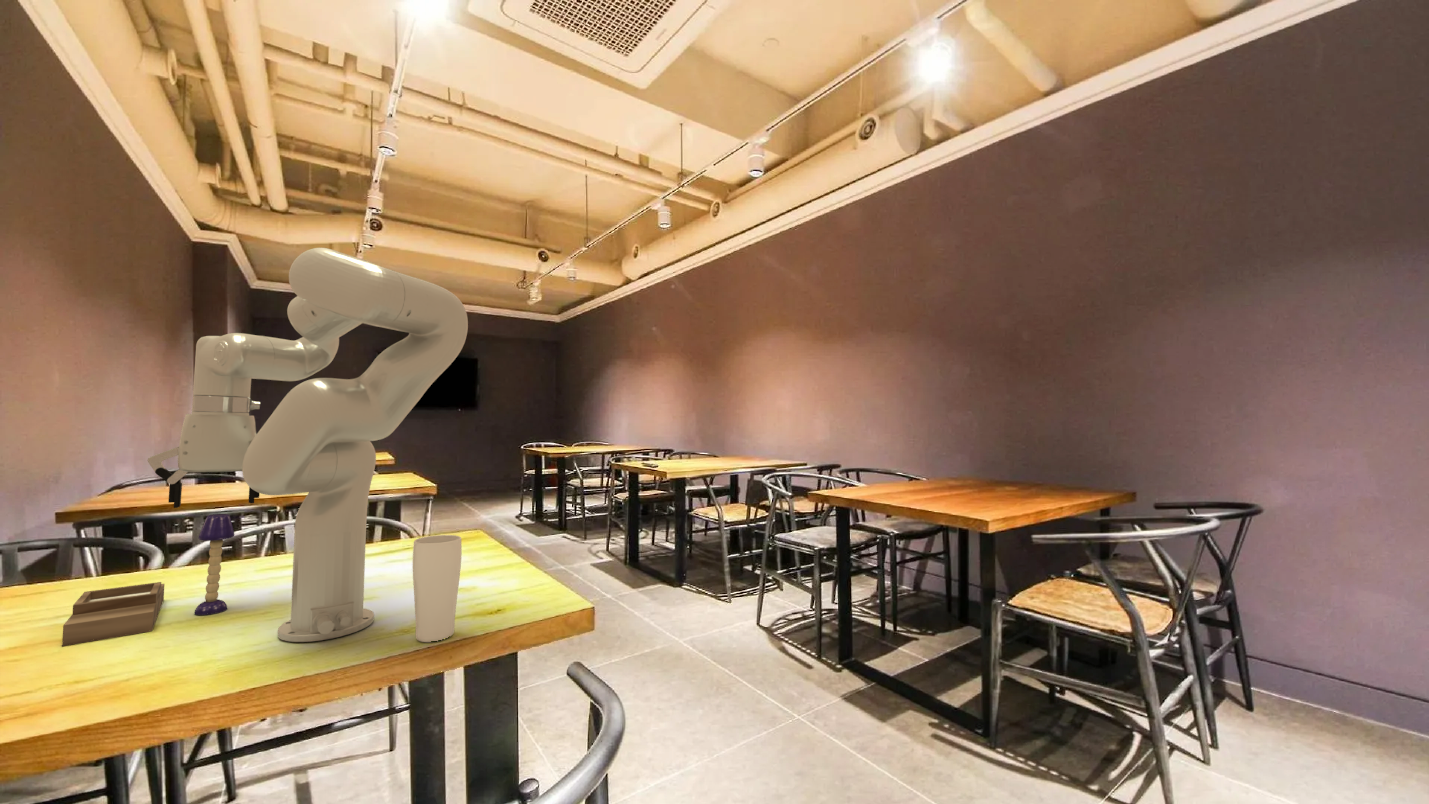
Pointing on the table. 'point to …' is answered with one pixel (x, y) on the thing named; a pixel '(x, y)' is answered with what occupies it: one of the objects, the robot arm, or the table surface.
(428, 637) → the drinking glass
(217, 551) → the toy lamp
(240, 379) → the robot arm
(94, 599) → the display stand
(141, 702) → the table surface
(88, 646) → the table surface
